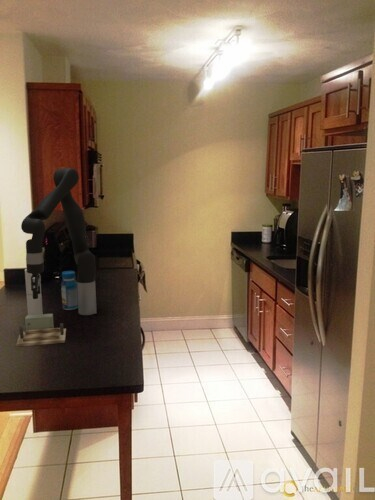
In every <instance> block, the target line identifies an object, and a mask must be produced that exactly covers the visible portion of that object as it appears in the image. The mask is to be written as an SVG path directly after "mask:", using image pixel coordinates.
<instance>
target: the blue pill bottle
mask: <svg viewBox="0 0 375 500" xmlns="http://www.w3.org/2000/svg"><path fill="white" fill-rule="evenodd" d="M61 278H62V281H61V284H60V286H61V290H60V292H61V303H62V304H61V305H62V307H61V308H62V309H63V310H65V311H72V310H76V309H78V293H77V280H76V272H75V271H74V270H66V271H62V272H61Z"/></svg>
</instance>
